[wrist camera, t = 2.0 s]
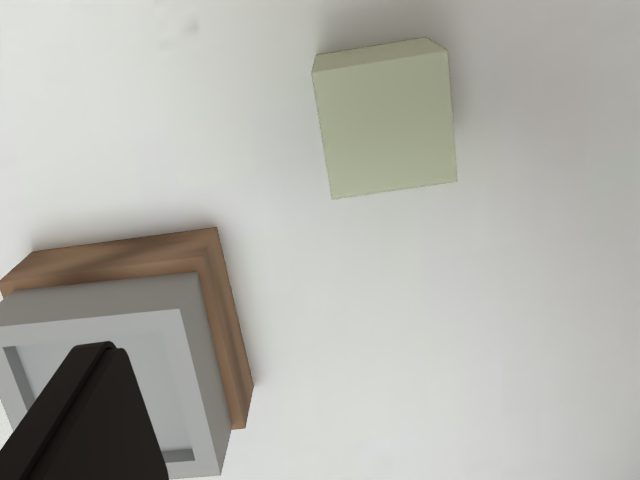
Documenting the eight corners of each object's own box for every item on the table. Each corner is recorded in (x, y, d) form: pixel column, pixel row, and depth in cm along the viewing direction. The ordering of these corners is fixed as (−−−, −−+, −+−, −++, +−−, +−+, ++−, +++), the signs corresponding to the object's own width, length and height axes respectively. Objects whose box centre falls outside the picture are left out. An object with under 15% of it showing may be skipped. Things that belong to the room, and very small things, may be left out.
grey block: (197, 271, 28) (179, 308, 25) (232, 425, 32) (220, 475, 29) (12, 290, 29) (-28, 329, 26) (66, 439, 32) (36, 490, 29)
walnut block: (218, 224, 32) (202, 256, 28) (254, 381, 36) (245, 428, 32) (35, 248, 33) (-3, 282, 29) (90, 400, 36) (62, 447, 33)
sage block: (424, 37, 28) (447, 50, 22) (434, 144, 29) (457, 181, 24) (315, 55, 28) (311, 72, 22) (332, 159, 30) (331, 199, 24)
